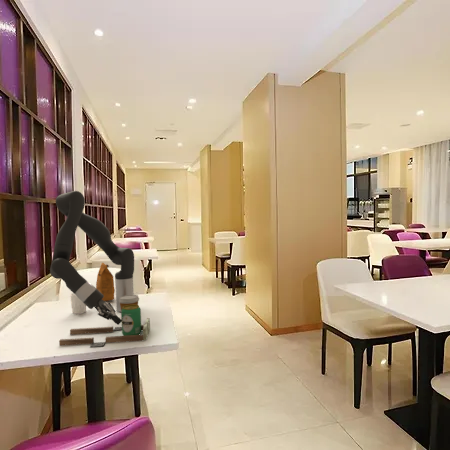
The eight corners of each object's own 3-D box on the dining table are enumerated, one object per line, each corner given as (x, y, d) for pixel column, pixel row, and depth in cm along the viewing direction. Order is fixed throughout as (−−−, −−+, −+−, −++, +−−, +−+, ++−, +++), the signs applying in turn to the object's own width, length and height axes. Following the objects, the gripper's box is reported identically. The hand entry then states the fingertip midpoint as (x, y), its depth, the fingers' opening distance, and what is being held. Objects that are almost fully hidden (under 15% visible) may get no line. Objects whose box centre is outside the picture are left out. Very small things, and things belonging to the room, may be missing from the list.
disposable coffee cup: (143, 319, 175) (142, 294, 174) (133, 325, 166) (132, 299, 165) (126, 318, 178) (125, 294, 177) (115, 324, 168) (114, 298, 168)
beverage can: (118, 336, 151) (117, 308, 151) (128, 330, 159) (127, 303, 158) (135, 338, 149) (134, 309, 148) (144, 331, 157) (143, 304, 156)
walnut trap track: (74, 330, 161) (73, 319, 161) (151, 326, 164) (150, 315, 164) (55, 349, 139) (55, 336, 139) (144, 344, 142) (143, 331, 142)
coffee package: (111, 296, 222) (110, 261, 221) (116, 300, 212) (114, 263, 210) (95, 298, 218) (93, 263, 217) (98, 303, 207) (96, 265, 206)
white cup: (87, 313, 188) (86, 294, 187) (71, 315, 185) (70, 296, 184) (87, 309, 195) (86, 291, 195) (71, 311, 192) (70, 292, 192)
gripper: (90, 292, 144) (122, 321, 145) (100, 285, 157) (129, 312, 158) (77, 305, 143) (110, 334, 145) (88, 297, 157) (117, 324, 158)
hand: (120, 322), depth 151 cm, fingers closed
